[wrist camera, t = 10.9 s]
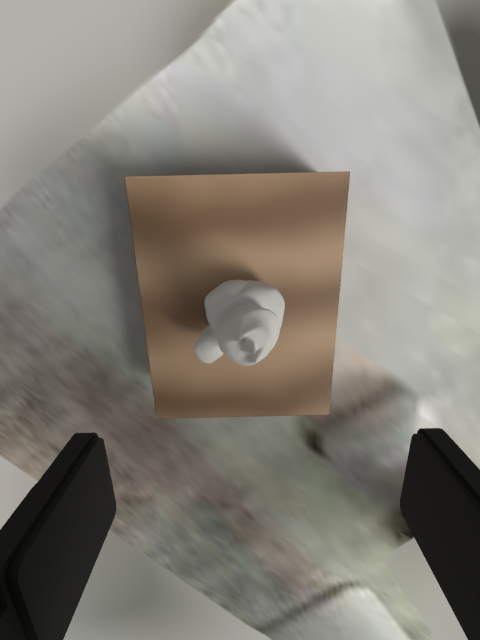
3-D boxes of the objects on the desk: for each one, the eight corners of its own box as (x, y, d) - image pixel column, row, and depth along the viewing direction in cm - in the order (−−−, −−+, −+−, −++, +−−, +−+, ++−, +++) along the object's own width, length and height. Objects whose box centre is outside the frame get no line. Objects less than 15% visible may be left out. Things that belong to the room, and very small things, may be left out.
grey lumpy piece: (297, 314, 23) (326, 368, 16) (224, 363, 24) (219, 434, 17) (253, 253, 22) (263, 280, 14) (178, 309, 23) (149, 360, 15)
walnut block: (312, 376, 32) (328, 414, 26) (171, 380, 32) (156, 418, 26) (325, 178, 26) (350, 171, 20) (149, 182, 25) (124, 176, 20)
